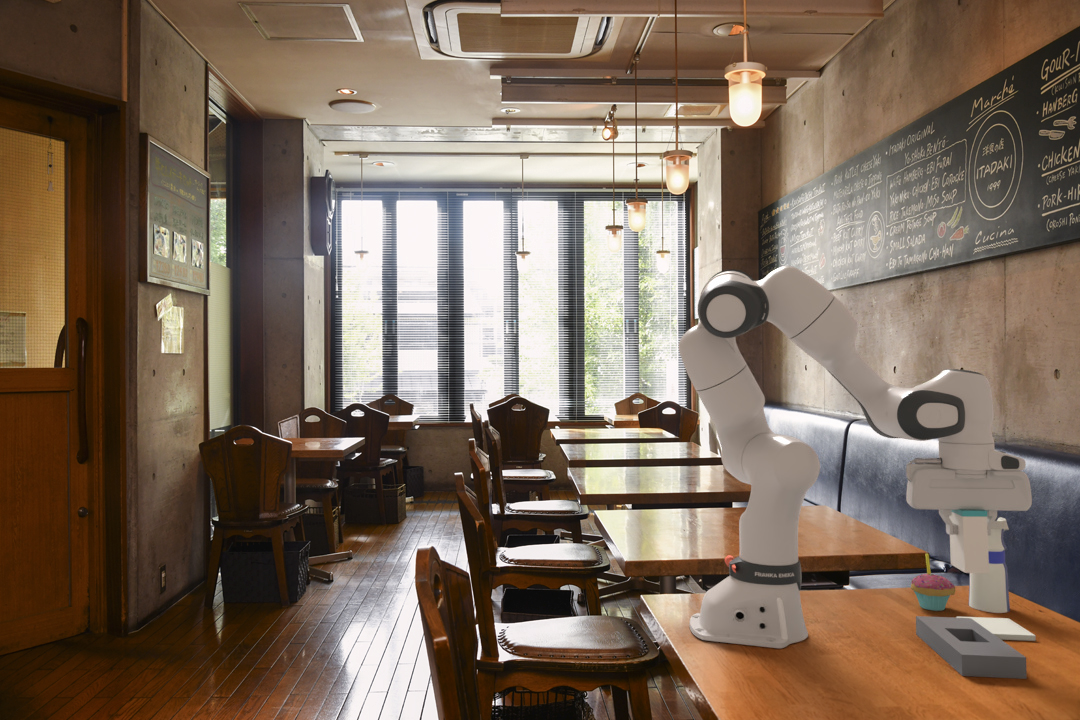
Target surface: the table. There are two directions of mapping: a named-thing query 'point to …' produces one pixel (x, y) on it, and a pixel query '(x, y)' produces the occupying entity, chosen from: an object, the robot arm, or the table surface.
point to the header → (971, 647)
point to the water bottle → (992, 575)
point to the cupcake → (932, 589)
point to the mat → (1004, 628)
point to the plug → (970, 541)
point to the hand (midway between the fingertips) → (968, 534)
